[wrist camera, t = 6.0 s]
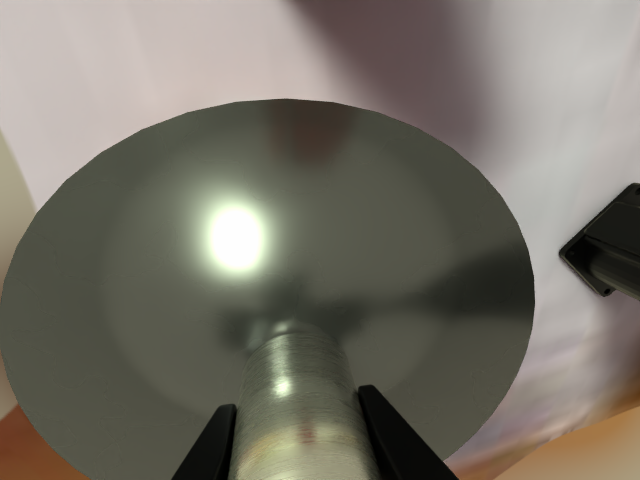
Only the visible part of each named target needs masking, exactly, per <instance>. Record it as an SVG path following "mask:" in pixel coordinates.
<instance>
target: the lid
mask: <svg viewBox="0 0 640 480" xmlns="http://www.w3.org/2000/svg"><path fill="white" fill-rule="evenodd" d="M534 308H535V291H534V275H533V270H532V265H531V261H530V256H529V251H528V248H527V245H526V243H525V240H524V238H523V235H522V233H521V230H520V228H519V225H518V223H517V221H516V219H515V218H514V216H513V214H512V213H511V211H510V209H509V208H508V206H507V205H506V203H505V201H504V200H503V198H502V196H501V195H500V194H499V193H498V192H497V190H496V189H495V188H494V187H493V186H492V185H491V184H490V182H489V181H488V180H487V179H486V178H485V177H484V176H483V174H482V173H481V172H480V171H479V170H478V169H477V168H475V167H474V166H473V165H472V164H471V163H469V162H468V161H467V160H466V159H464V158H463V157H462V156H461V155H460V154H458V153H457V152H456V151H455V150H453V149H452V148H451V147H449V146H448V145H446V144H444V143H442V142H441V141H439V140H437V139H436V138H434V137H432V136H430V135H429V134H427V133H425V132H423V131H422V130H420V129H418V128H416V127H414V126H411V125H409V124H406V123H404V122H401V121H399V120H396V119H393V118H391V117H388V116H386V115H383V114H381V113H378V112H374V111H370V110H365V109H361V108H356V107H352V106H348V105H343V104H339V103H334V102H324V101H311V100H298V99H272V100H257V101H242V102H234V103H229V104H224V105H220V106H215V107H210V108H206V109H201V110H196V111H192V112H187V113H185V114H182V115H179V116H177V117H174V118H171V119H169V120H166V121H163V122H161V123H158V124H155V125H153V126H150V127H148V128H145V129H142V130H140V131H139V132H137V133H135V134H133V135H131V136H130V137H128V138H126V139H124V140H123V141H121V142H119V143H117V144H115V145H114V146H112V147H110V148H108V149H107V150H105V151H103V152H101V153H100V154H99V155H97V156H96V157H95V158H94V159H92V160H91V161H90V162H89V163H87V164H86V165H85V166H84V167H82V168H81V169H80V170H78V171H77V172H76V173H75V174H73V175H72V176H71V177H70V178H68V179H67V180H66V181H65V182H64V183H63V184H62V185H61V186H60V188H59V189H58V190H57V191H56V192H55V193H54V194H53V195H52V197H51V198H50V199H49V200H48V201H47V202H46V203H45V204H44V206H43V207H42V208H41V209H40V210H39V211H38V212H37V214H36V215H35V217H34V219H33V221H32V222H31V224H30V226H29V227H28V229H27V231H26V232H25V234H24V235H23V237H22V239H21V240H20V242H19V244H18V245H17V248H16V250H15V253H14V255H13V258H12V261H11V264H10V266H9V269H8V272H7V274H6V277H5V280H4V285H3V291H2V298H1V304H0V349H1V353H2V357H3V361H4V366H5V370H6V374H7V378H8V380H9V382H10V385H11V387H12V389H13V392H14V394H15V396H16V399H17V401H18V403H19V405H20V407H21V408H22V410H23V411H24V413H25V414H26V416H27V417H28V419H29V421H30V422H31V424H32V425H33V427H34V428H35V430H36V431H37V432H38V433H39V434H40V435H41V436H42V437H43V439H44V440H45V441H46V442H47V443H48V444H49V445H50V446H51V447H52V449H53V450H54V451H55V452H57V453H58V454H59V455H60V456H61V457H62V458H64V459H65V460H66V461H67V462H68V463H69V464H71V465H72V466H73V467H74V468H75V469H77V470H78V471H80V472H81V473H83V474H84V475H86V476H87V477H89V478H90V479H92V480H171V478H172V477H173V475H174V474H175V472H176V471H177V469H178V468H179V466H180V465H181V463H182V462H183V460H184V458H185V457H186V455H187V454H188V452H189V451H190V449H191V448H192V446H193V445H194V443H195V442H196V440H197V438H198V437H199V435H200V434H201V432H202V431H203V429H204V428H205V426H206V425H207V423H208V422H209V420H210V419H211V417H212V415H213V414H214V412H215V411H216V409H217V408H218V407H219V406H220V405H225V404H232V403H233V404H235V405H236V407H237V415H236V422H235V429H234V436H233V443H232V450H231V457H230V464H229V471H228V478H227V480H382V477H381V473H380V470H379V466H378V463H377V459H376V456H375V452H374V449H373V445H372V442H371V438H370V435H369V431H368V428H367V424H366V421H365V417H364V414H363V410H362V407H361V403H360V399H359V396H358V387H359V386H362V385H369V384H372V385H374V386H375V387H376V388H377V389H378V390H379V391H380V393H381V394H382V395H383V396H384V397H385V398H386V399H387V400H388V401H389V403H390V404H391V405H392V406H393V407H394V408H395V409H396V410H397V411H398V412H399V414H400V415H401V416H402V417H403V418H404V419H405V420H406V421H407V422H408V424H409V425H410V426H411V427H412V428H413V429H414V430H415V431H416V432H417V434H418V435H419V436H420V437H421V438H422V439H423V440H424V441H425V442H426V443H427V445H428V446H429V447H430V448H431V449H432V450H433V451H434V452H435V453H436V455H437V456H438V457H439V458H440V459H441V460H442V461H444V460H445V459H446V458H448V457H449V456H450V455H452V454H453V453H454V452H456V451H457V450H458V449H459V448H460V447H461V446H462V445H463V444H464V443H466V442H467V441H468V440H469V439H470V438H471V437H472V436H473V435H474V434H475V433H476V432H477V431H478V430H479V429H480V428H481V426H482V425H483V424H484V423H485V422H486V421H487V420H488V418H489V417H490V416H491V415H492V414H493V412H494V411H495V409H496V408H497V407H498V405H499V404H500V402H501V401H502V400H503V398H504V397H505V395H506V393H507V392H508V390H509V388H510V386H511V384H512V383H513V381H514V379H515V377H516V375H517V373H518V371H519V368H520V366H521V363H522V361H523V358H524V356H525V354H526V350H527V347H528V343H529V339H530V335H531V331H532V326H533V317H534Z"/></svg>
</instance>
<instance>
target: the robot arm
mask: <svg viewBox="0 0 640 480" xmlns="http://www.w3.org/2000/svg"><path fill="white" fill-rule="evenodd" d="M560 256H561V257H562V258H563V259H564V260H565V261H566V262H567V263H568V264H569V265H570V266H571V267H572V268H573V269H574V270H575V271H576V272H577V273H578V274H579V275H580V276H581V277H582V278H583V279H584V280H585V282H586V283H587V284H588V285H589V286H590V287H591V288H592V289H593V290H594V291H595V292H596V293H598V294H599V295H601V296H603V297H606V296H609V295H610V294H611V293H612V292H614V291H615V290H616V289H617V290H619V291H621V292H623V293H625V294H627V295H629V296H631V297H633V298H635V299H637V300H639V301H640V183H633V184H631V185H629V186H628V187H627V188H626V189H625V190H624V191H623V192H622V193H621V194H620V195H618V196H617V197H616V198H615V199H614V200H613V201H612V202H611V203H610V204H609V205H608V206H607V207H606V208H604V209H603V210H602V211H601V212H600V213H599V214H598V215H597V216H596V217H595V218H594V219H593V220H592V221H591V222H589V223H588V224H587V225H586V226H585V227H584V228H583V229H582V230H581V231H580V232H579V233H578V234H577V235H575V236H574V237H573V238H572V239H571V240H570V241H569V242H568V243H567V244H566V245H565V246H564V247H563V248H562V249H561V251H560ZM358 396H359V399H360V403H361V407H362V410H363V414H364V417H365V421H366V424H367V428H368V431H369V435H370V438H371V442H372V445H373V449H374V452H375V456H376V459H377V463H378V466H379V470H380V473H381V477H382V480H459V479H458V478H457V477H456V476H455V474H454V473H453V472H452V471H451V470H450V469H449V468H448V467H447V466H446V465H445V463H444V462H443V461H442V460H441V459H440V458H439V457H438V456H437V455H436V453H435V452H434V451H433V450H432V449H431V448H430V447H429V446H428V445H427V443H426V442H425V441H424V440H423V439H422V438H421V437H420V436H419V435H418V434H417V432H416V431H415V430H414V429H413V428H412V427H411V426H410V425H409V424H408V422H407V421H406V420H405V419H404V418H403V417H402V416H401V415H400V414H399V412H398V411H397V410H396V409H395V408H394V407H393V406H392V405H391V404H390V403H389V401H388V400H387V399H386V398H385V397H384V396H383V395H382V394H381V393H380V391H379V390H378V389H377V388H376V387H375V386H374V385H372V384H369V385H362V386H359V387H358ZM236 415H237V407H236V405H235V404H233V403H232V404H225V405H220V406H219V407H218V408H217V409H216V411H215V412H214V414H213V415H212V417H211V419H210V420H209V422H208V423H207V425H206V426H205V428H204V429H203V431H202V432H201V434H200V435H199V437H198V438H197V440H196V442H195V443H194V445H193V446H192V448H191V449H190V451H189V452H188V454H187V455H186V457H185V458H184V460H183V462H182V463H181V465H180V466H179V468H178V469H177V471H176V472H175V474H174V475H173V477H172V478H171V480H227V478H228V471H229V464H230V457H231V450H232V443H233V436H234V429H235V422H236Z"/></svg>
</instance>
